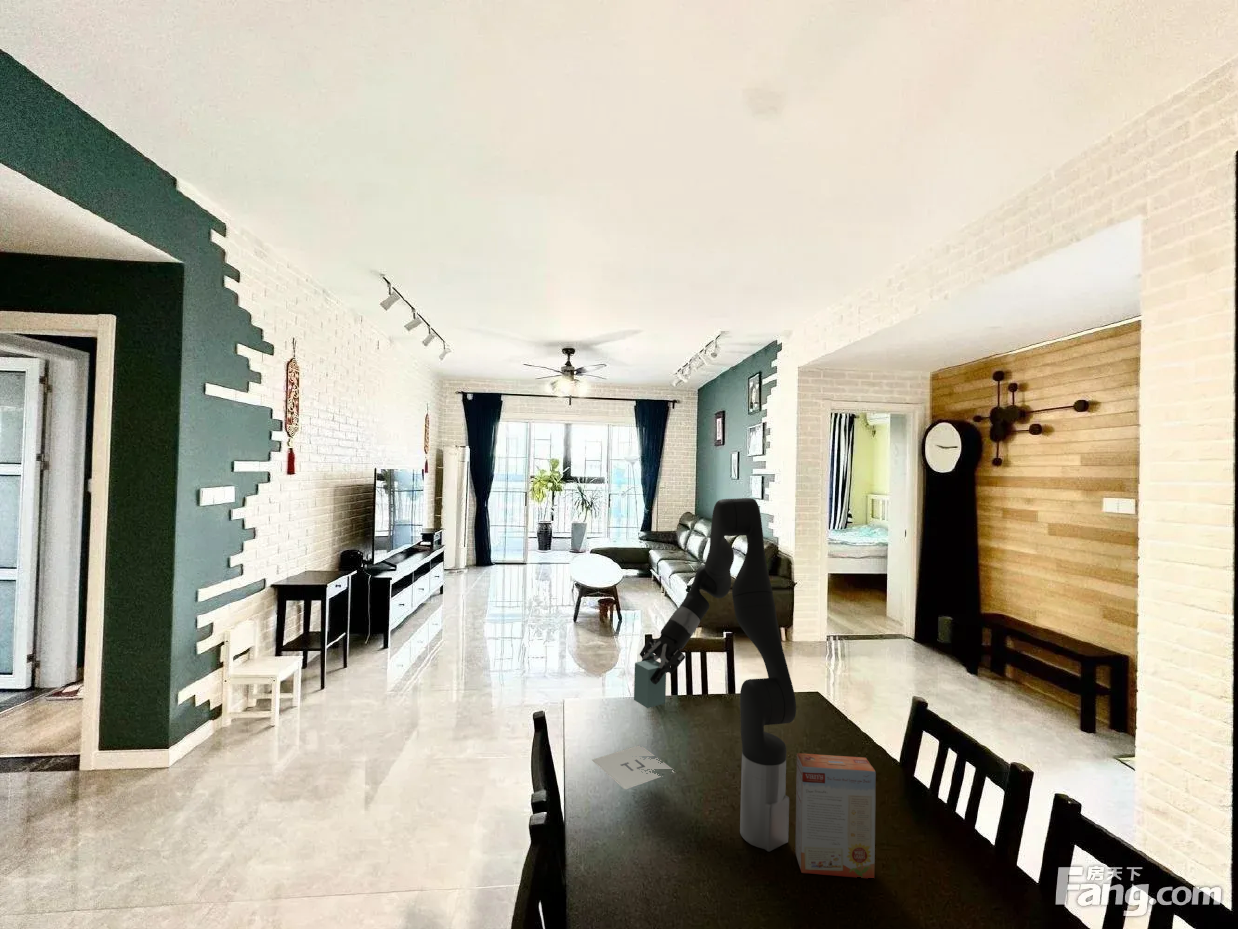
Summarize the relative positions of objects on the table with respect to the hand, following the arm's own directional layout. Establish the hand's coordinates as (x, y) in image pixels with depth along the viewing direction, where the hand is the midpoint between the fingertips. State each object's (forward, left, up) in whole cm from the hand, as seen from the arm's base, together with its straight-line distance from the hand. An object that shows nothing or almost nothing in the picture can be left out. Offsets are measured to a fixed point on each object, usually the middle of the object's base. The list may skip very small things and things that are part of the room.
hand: (645, 678), depth 148 cm
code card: (0, +3, -22) cm, 23 cm away
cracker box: (-51, -10, -23) cm, 57 cm away
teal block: (0, -2, -7) cm, 7 cm away
